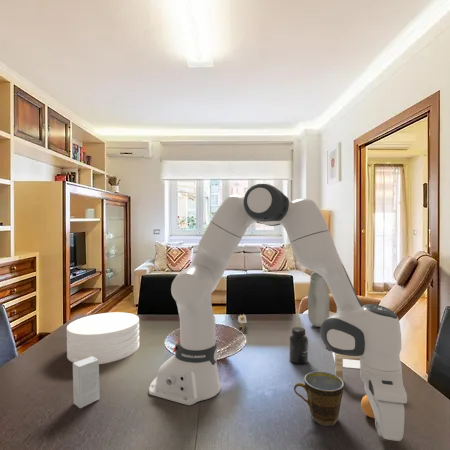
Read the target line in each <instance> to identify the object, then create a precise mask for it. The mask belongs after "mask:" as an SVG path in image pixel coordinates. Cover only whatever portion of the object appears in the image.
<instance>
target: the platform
mask: <svg viewBox="0 0 450 450" xmlns="http://www.w3.org/2000/svg"><path fill="white" fill-rule="evenodd" d="M237 318H238V319H237V321H238V323H240V326H243V330H244V331H245V324H247V323H248V322H247V316H246V315H245V314H242V315H241V313H240V315H239V316H238V317H237Z"/></svg>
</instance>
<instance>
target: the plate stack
mask: <svg viewBox="0 0 450 450" xmlns="http://www.w3.org/2000/svg"><path fill="white" fill-rule="evenodd" d="M139 347H140V318H139V316H138V315H136V314H134V313H131V312H129V313H128V312H122V311H121V312H120V311H119V312H113V311H112V312H101V313H96V314H90V315H87V316H84V317H83V316H82V317H81V318H78V319H75V320H74V321H71V322H70V323H69V324H67V326H66V357H67V360H68V361H70V362H71V363H72V364H73V363H75V362H77V361H80V360H83V359H86V358H88V357H91V356H93V357H95V358H96V359H98V360H99V365H102V364H109V363H112V362H116V361H119V360H122V359H124V358H127V357H129V356H131V355H132V354H134V353H135V352H137V351H138V349H140V348H139Z"/></svg>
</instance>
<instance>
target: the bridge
mask: <svg viewBox="0 0 450 450" xmlns="http://www.w3.org/2000/svg"><path fill="white" fill-rule="evenodd" d="M343 359H349V360H360V357H359V356H347V355H340V354H336V353H335V361H334V375H336V376H338V377H339V378H340V379H341V380H342V381H343V382H344V376H343V375H344V367H343Z"/></svg>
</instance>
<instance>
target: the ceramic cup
mask: <svg viewBox="0 0 450 450" xmlns="http://www.w3.org/2000/svg"><path fill="white" fill-rule="evenodd" d="M303 381H304V383H303V382H297V383H296V384H295V385H294V387H293V390H294V393H295V394H296V395H297V396H299V397H300V398H301V399H302V400H303V401H304V402H306V403H307V405H308V408H309V412H310V413H309V414H310V417H311V419H312V420H313V422H315V423H317V424H319V425H321V426H324V427H325V426H334V425H335V424H336V423H337V421H339V415H340V409H341V404H342V398H343V396H344V395H343V393H344V389H345V383H344V380H343V381H342V380H341V379H340V378H339V377H338V376H336V375H335V373H330V372H327V371H318V370H317V371H312V372H308V373H307V374H305V375H304V380H303ZM297 387H301V388H303V389H304V391H305V392H306V396H307V399H305V397H304V396H303V395H301V394H300V393H299V392H297V390H296V389H297Z"/></svg>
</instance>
